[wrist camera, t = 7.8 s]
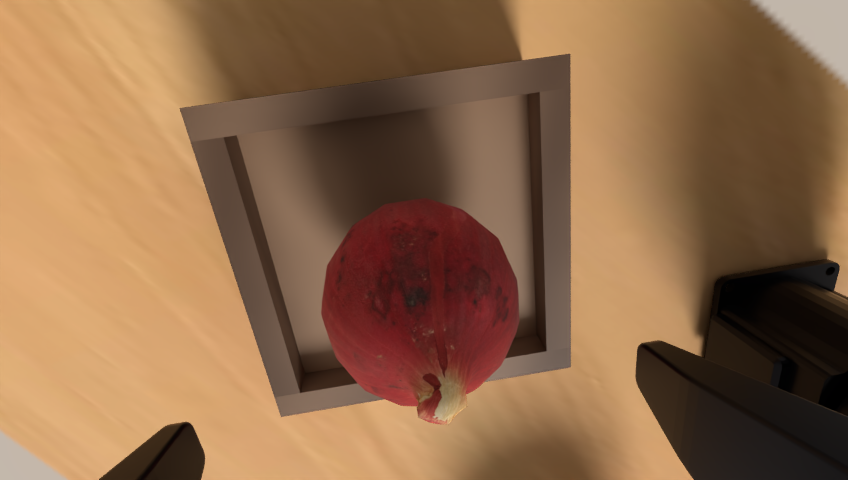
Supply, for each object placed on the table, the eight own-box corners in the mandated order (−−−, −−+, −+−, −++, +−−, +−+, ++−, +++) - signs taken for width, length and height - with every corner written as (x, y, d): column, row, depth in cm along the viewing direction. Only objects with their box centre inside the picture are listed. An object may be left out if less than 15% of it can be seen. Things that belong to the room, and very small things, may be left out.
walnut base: (522, 60, 17) (570, 53, 13) (532, 309, 22) (570, 367, 17) (231, 100, 17) (179, 108, 13) (301, 347, 21) (281, 416, 17)
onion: (313, 187, 15) (268, 317, 7) (474, 160, 15) (582, 256, 8) (348, 324, 17) (340, 523, 10) (486, 297, 17) (576, 468, 10)
